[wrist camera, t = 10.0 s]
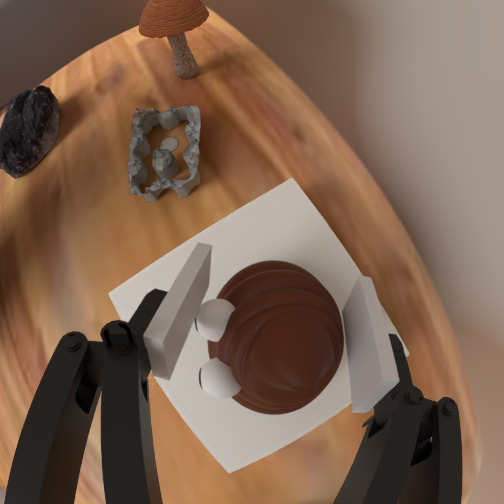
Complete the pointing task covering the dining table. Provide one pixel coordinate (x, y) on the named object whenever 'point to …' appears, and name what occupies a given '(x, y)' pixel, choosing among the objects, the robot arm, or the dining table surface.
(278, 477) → the dining table surface
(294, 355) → the poop emoji
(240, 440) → the podium
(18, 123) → the crystal cluster
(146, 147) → the stone castle ruin
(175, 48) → the mushroom
